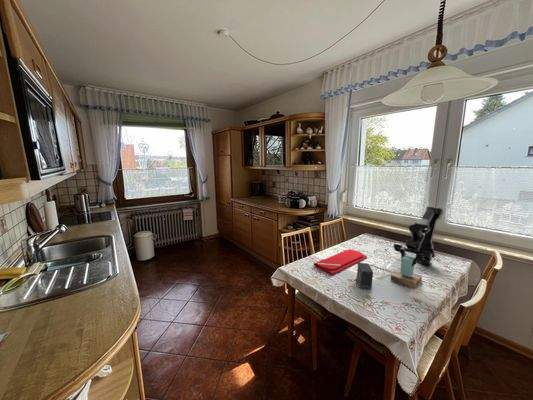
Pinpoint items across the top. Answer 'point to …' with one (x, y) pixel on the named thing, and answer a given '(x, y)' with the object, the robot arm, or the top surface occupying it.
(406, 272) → the teal block
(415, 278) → the walnut base
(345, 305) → the top surface
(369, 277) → the small box
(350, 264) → the dish drying mat
